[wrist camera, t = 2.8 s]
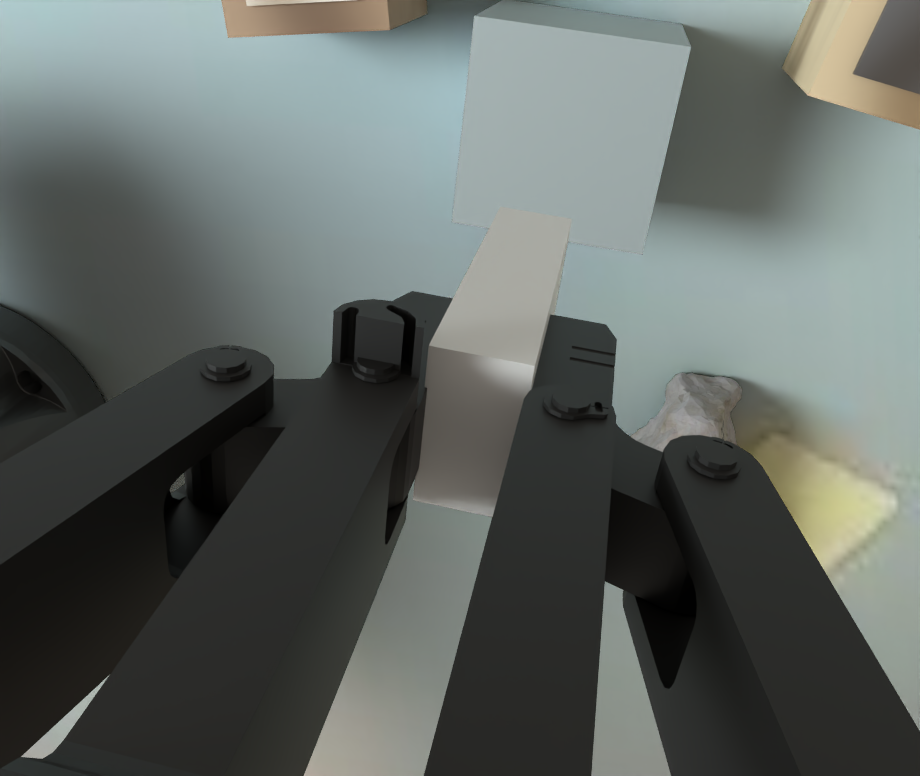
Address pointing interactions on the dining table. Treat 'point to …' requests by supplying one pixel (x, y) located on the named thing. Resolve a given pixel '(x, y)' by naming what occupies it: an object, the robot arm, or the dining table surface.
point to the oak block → (861, 56)
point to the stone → (693, 410)
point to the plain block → (569, 119)
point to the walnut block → (317, 16)
